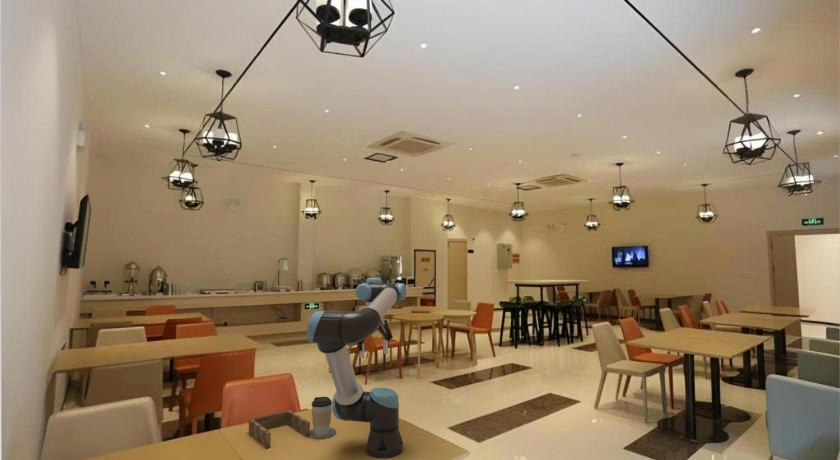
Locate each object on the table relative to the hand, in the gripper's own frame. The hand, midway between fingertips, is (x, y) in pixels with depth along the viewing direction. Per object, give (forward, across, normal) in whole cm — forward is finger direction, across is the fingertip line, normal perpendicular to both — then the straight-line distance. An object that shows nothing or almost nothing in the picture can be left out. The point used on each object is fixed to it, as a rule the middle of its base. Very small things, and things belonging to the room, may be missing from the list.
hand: (374, 355), depth 202 cm
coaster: (+32, +23, -7) cm, 40 cm away
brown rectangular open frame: (+32, +38, -19) cm, 53 cm away
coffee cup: (+31, +24, -7) cm, 40 cm away
